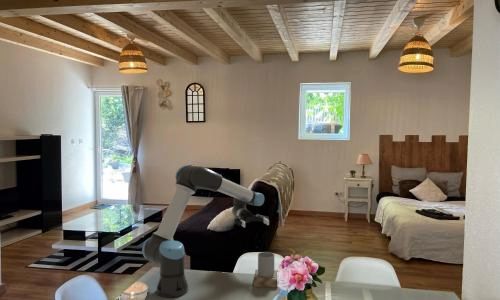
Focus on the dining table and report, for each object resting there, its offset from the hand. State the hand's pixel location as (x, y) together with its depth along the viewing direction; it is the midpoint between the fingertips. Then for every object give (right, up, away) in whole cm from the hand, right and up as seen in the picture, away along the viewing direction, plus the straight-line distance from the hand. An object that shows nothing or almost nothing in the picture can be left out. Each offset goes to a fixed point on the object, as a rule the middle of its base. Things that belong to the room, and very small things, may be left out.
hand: (256, 223), depth 199 cm
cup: (+5, -24, -8) cm, 26 cm away
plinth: (+5, -28, -8) cm, 30 cm away
